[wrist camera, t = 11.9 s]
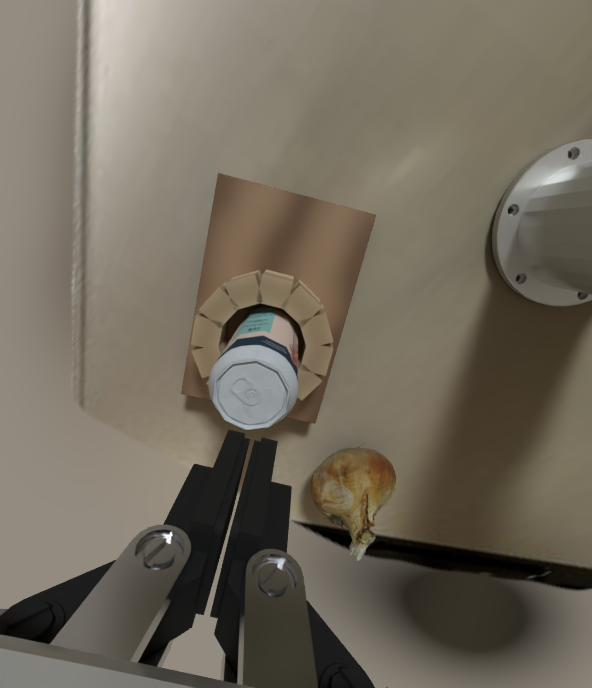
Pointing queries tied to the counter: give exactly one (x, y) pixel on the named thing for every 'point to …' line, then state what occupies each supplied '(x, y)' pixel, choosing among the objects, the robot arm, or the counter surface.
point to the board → (285, 250)
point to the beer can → (257, 370)
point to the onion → (354, 492)
